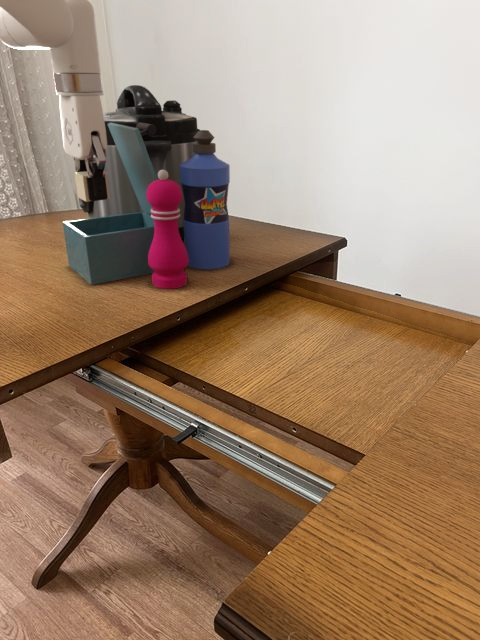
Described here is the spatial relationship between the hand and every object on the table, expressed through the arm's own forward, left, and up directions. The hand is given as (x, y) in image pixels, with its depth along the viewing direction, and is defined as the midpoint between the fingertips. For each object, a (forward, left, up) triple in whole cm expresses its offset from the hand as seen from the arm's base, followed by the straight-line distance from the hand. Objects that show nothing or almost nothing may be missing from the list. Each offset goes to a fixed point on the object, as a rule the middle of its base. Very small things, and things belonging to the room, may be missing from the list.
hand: (93, 196), depth 98 cm
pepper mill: (+8, -13, -14) cm, 21 cm away
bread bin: (+4, 0, -14) cm, 15 cm away
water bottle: (+20, -6, -14) cm, 25 cm away
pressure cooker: (+19, +22, -14) cm, 32 cm away
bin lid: (+9, 0, +3) cm, 10 cm away
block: (0, 0, 0) cm, 0 cm away
